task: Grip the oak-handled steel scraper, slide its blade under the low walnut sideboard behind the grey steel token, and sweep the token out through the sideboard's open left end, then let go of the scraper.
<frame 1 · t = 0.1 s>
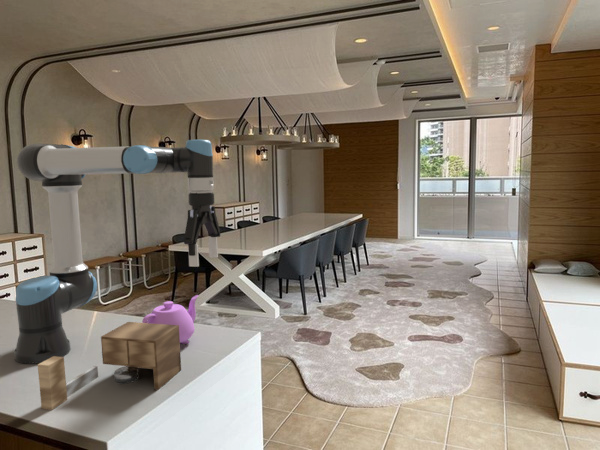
hand: (204, 261, 143), 28 cm above the counter, fingers open, 13 cm apart
sideboard: (143, 376, 128), on the counter
scraper: (54, 404, 113), on the counter
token: (126, 379, 127), on the counter
teapot: (173, 342, 153), on the counter
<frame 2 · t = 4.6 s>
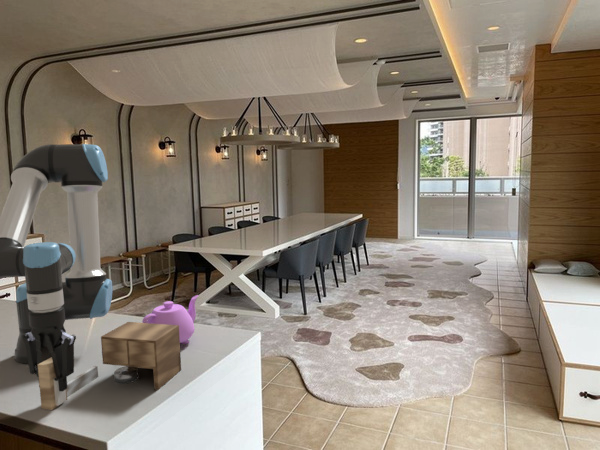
hand: (54, 401, 113), 1 cm above the counter, fingers closed on scraper, 3 cm apart
scraper: (54, 404, 113), on the counter, touching gripper
everything else where it was.
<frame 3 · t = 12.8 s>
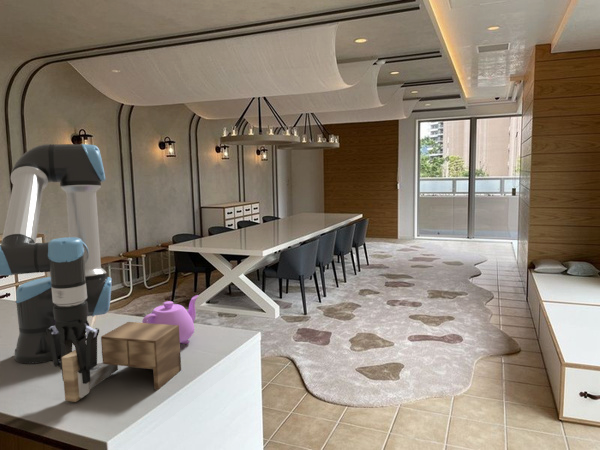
hand: (77, 394, 115), 1 cm above the counter, fingers closed on scraper, 3 cm apart
scraper: (77, 396, 115), point 1 cm above the counter, touching gripper
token: (99, 376, 129), on the counter
everything else where it was.
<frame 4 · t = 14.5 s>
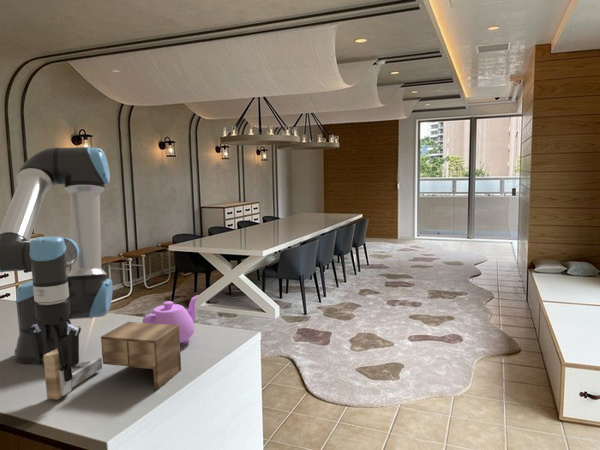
hand: (59, 391, 116), 2 cm above the counter, fingers closed on scraper, 3 cm apart
scraper: (59, 394, 116), point 1 cm above the counter, touching gripper
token: (84, 374, 130), on the counter
everything else where it was.
when the fingers open (2 cm above the counter, at t = 15.2 s): scraper drops 1 cm, on the counter.
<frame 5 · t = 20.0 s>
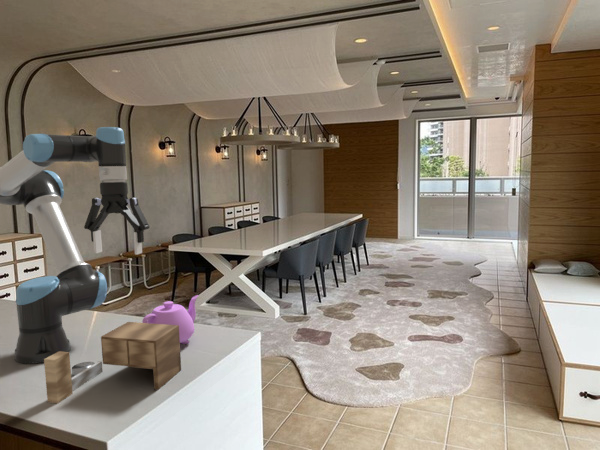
hand: (118, 253, 139), 32 cm above the counter, fingers open, 13 cm apart
scraper: (60, 397, 117), on the counter
everything else where it was.
at the end: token inside the target area (2.5 cm from its centre), on the counter; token moved 13.5 cm from its start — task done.
